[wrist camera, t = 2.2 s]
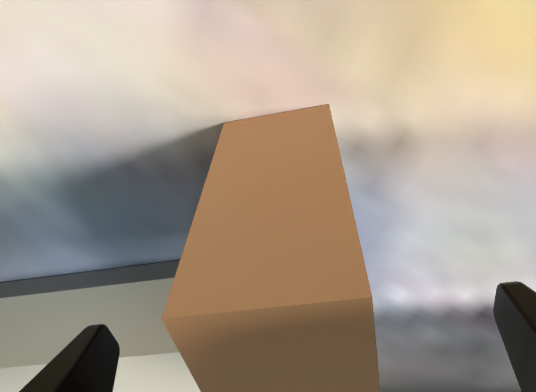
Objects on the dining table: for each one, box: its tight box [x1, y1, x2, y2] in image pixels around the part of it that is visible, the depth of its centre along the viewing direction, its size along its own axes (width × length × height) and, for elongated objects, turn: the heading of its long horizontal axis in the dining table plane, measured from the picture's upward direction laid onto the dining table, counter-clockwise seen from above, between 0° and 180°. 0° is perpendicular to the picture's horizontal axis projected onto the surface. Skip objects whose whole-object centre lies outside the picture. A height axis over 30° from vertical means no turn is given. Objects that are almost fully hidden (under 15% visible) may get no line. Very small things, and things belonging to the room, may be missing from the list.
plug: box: [162, 104, 380, 392], centre depth 11 cm, size 4×4×8 cm
